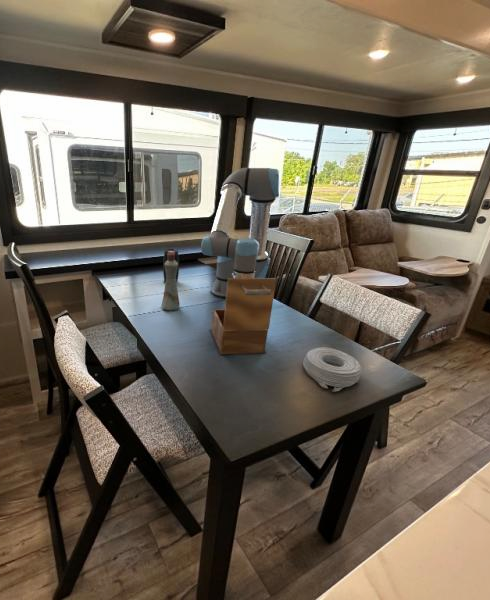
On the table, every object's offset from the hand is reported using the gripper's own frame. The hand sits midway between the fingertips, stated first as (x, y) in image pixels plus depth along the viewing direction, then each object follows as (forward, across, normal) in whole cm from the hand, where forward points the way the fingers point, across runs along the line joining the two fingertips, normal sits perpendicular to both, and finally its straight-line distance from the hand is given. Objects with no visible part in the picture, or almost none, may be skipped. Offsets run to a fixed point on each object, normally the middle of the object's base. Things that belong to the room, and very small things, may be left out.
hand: (236, 334), depth 123 cm
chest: (+3, 0, 0) cm, 3 cm away
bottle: (+3, -33, -24) cm, 41 cm away
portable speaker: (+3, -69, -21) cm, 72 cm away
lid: (-17, +9, 0) cm, 19 cm away
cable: (+3, +23, +26) cm, 35 cm away
